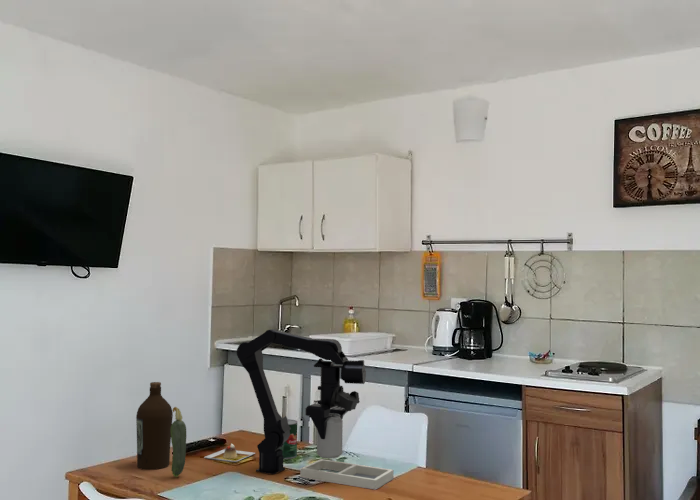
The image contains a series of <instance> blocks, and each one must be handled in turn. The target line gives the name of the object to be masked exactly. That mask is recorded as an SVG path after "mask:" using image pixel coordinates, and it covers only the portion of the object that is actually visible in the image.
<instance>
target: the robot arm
mask: <svg viewBox="0 0 700 500" xmlns="http://www.w3.org/2000/svg"><path fill="white" fill-rule="evenodd" d="M272 344H276V345H280V346H282V347H283V346H284V347H287V348H288V347H289V348H292V349H295V350H296V349H297V350H301V351H305V352H309V354H312V355H314V356H316V357H318V358H319V359H318V360H317V362H315V364H313V367H314V368H320V385H319V386H317V391H319V393H320V394H319V396H320V397H319V399H318V400H317V401H316V402H317V403H312V404H310V405H307V406H306V407H305V408H304V409H305V414H304V416H306V417H309V418H310V419H311V421H312V422H313V424H314V427H315V429H316V432H317V431H318V433H319V435H320V438H321V439H325V435H326V427H327V421H328V420H329V419H330V417H331V416H329V414H330V413H335V414H339V415H340V418H341V419H342V420H343V418H344V416H345V415H346V414H347V413H348V412H352V410H356V408H357V404H359V403H361V402H360V397H359V392H358V391H356V390H354V391H353V390H352V391H350V393H349V392H345V391H344V386H343V385H341V380H342V381H343V382H344V384H351V385H352V384H357V385H360V384H361V385H364V384H365V383H366V380H367V379H366V377H367V370H366V365H365V360H364V359H360V360H359V359H358V360H350V359H349V358H348V356H346V355H345V353H344V352H343V349H342V348H343V347H342V345H341V343H340V341H339V340H338V339H334V338H313V337H312V338H311V337H307V336H303V335H298V334H294V333H290V332H285V331H283V330H278V329H276V328H270V329H267V330H266V331H265V332H264V333H262V334H260V335H259V336H257V337H254V338H253V339H252V340H250V341H244V342H241V343H240V344H239V345H238V346H237V348H236V356H237V358H238V360H239V362H240V364H241V365H242V367H243V369H244V370H245V371H246V372H247V373H248V375H249V378H250V382H251V384H252V387H253V390H254V394H255V397H256V400H257V402H258V405H259V408H260V411H261V414H262V417H263V435H264V438H263V439H262V440H261V442H259V443H258V444H257V446H256V448H257V451H258V456H259V457H258V468H257V469H255V472H257V473H262V474H268V475H276V474H278V473H280V472H283V471H285V470H286V468H285V467H284V459H283V458H284V456H283V455H282V450H281V449H280V448H281V447H282V446H283V444H284V442H286V441H287V440H288V438H289V436H290V431H289V430H290V429H291V428H290V426H289V425H288V421H287V419H288V417H287V416H286V415H285V416H283V417H282V416H281V414H280V413H279V412H278V408H277V405H276V402H275V400H274V396H273V394H272V390H271V388H270V385H269V382H268V379H267V377H266V373H265V370H264V356H263V351H264V350H266V349H267V348H269V347H270V346H271V345H272Z"/></svg>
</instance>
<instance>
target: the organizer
mask: <svg viewBox="0 0 700 500" xmlns="http://www.w3.org/2000/svg"><path fill="white" fill-rule="evenodd" d="M322 469H323V470H322ZM325 470H329V471H325ZM332 471H335V472H332ZM356 473H359V474H365V475H371V476H378V477H376V478H375V479H371V478H365V477H359V476H352V475H354V474H356ZM299 477H300V478H304V479H308V478H309V479H310V480H316V481H322V482H327V483H332V484H333V483H334V484H338V485H345V486H351V487H357V488H363V489H368V490H370V489H371V490H377V489H379V488H381V487H383V486H384V485H386V484H387V483H389V482H391V481H392V480H394V469H391V468H384V467H377V466H369V465H363V464H358V463H351V462H350V463H349V462H343V461H337V460H332V459H325V458H320V459H318V460H316V461H313V462H311V463H310V464H307V465H304V466H302V467H300V474H299Z"/></svg>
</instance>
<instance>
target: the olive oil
mask: <svg viewBox="0 0 700 500" xmlns="http://www.w3.org/2000/svg"><path fill="white" fill-rule="evenodd" d="M161 386H162V383H161V382H160V381H152V382H150V383H149V395H148V396H147V398H145V400H144V401H143V402H142V403H141V404H140V405H139V407H138V409H137V412H136V417H135V419H136V425H135V426H136V467H137V468H138V469H140V470H146V471H150V470H151V471H152V470H153V471H155V470H160V469H164V468H165V469H166V468H167V467H168V466H169V465H170V458H171V455H170V454H171V444H172V442H171V425H172V423H173V419H174V418H173V417H174V415H173V413H174V412H173V408H172V406H171V404H170V403H169V402H168V401H167V400H166V399H165V398H164V397H163V395H162V387H161Z"/></svg>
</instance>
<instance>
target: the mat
mask: <svg viewBox="0 0 700 500" xmlns="http://www.w3.org/2000/svg"><path fill="white" fill-rule="evenodd" d="M352 476H359V477H365V478H371V479H375V478H376V477H378V476H371V475H365V474H359V473H356V474H354V475H352Z"/></svg>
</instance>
